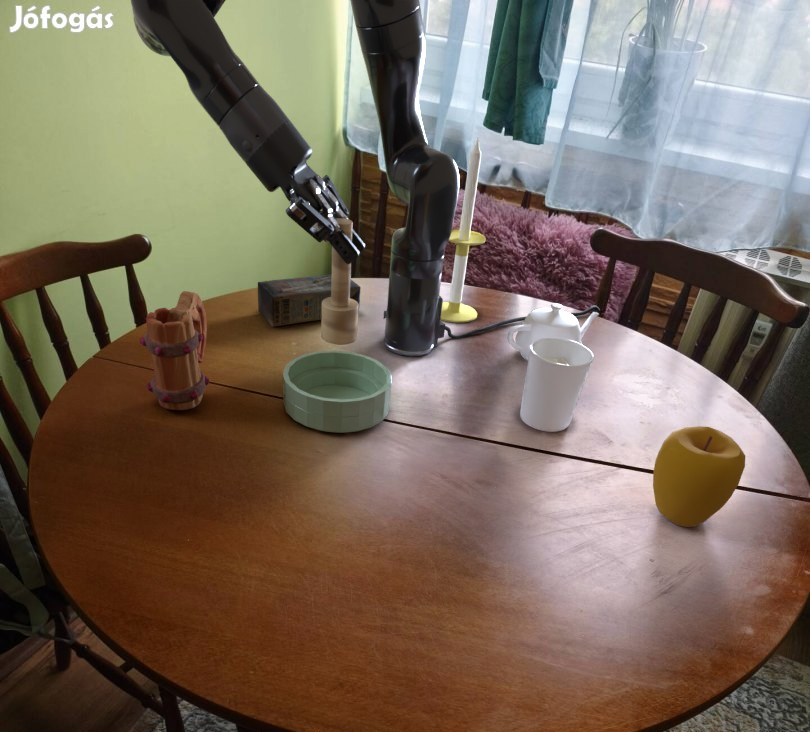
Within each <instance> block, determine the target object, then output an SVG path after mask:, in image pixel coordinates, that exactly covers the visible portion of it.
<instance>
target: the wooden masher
mask: <svg viewBox="0 0 810 732" xmlns="http://www.w3.org/2000/svg"><path fill="white" fill-rule="evenodd" d="M335 221H336V222H337V223H338V225H339V226H340V228H341V231H342V230H343V232H344V233H345V234H346V235H347V237H348V238H349V239H350V240H351V242H352V229H353V230H354V228H353V226H354V222H353V221H352V220H351V219H349V218H348V219H345V218H337V219H335ZM341 231H340V232H341ZM331 275H332V280H331V297H328V298H326V299H324V300H323V301H322V317H321V320H320V321H321V322H320V323H321V325H320V326H321V327H320V329H321V330H320V337H321V339H322V340H323V341H324V342H326V343H328V344H332V345H335V346H336V345H337V346H346V345H351V344H353V343H355V342H356V341H357V340H358V326H359V314H358V309H359V310H360V307H359V304H358V302H357V301H355V300H353V299H351V298H350V279H351V280H352V278H351V277H352V263H350V264H346V263H345V262H344V260H343V259H342V258H341V257H340V255H339V254H338V253H337V252H336V250H335V249H334V248H333V247H332V246H331Z"/></svg>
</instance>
